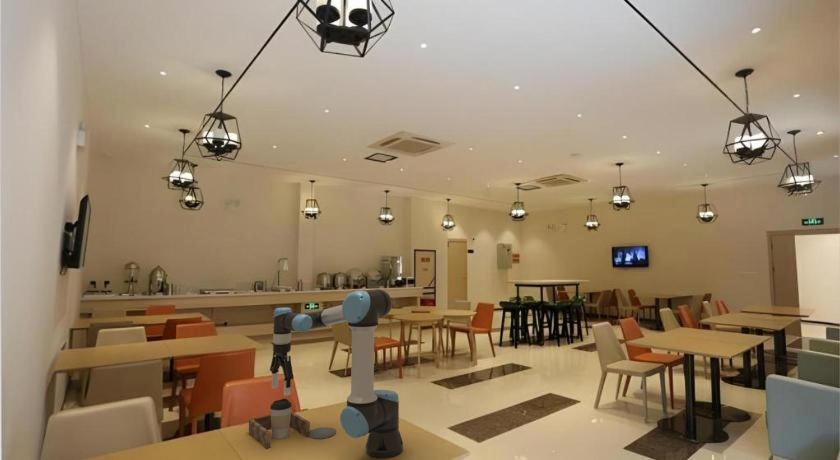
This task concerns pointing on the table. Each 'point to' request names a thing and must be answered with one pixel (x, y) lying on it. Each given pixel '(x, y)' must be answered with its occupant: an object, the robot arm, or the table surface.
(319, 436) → the coaster
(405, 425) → the table surface
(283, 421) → the coffee cup
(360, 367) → the robot arm
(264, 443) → the brown rectangular open frame
